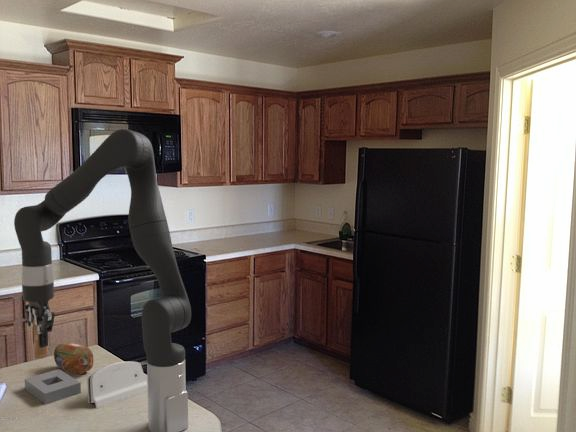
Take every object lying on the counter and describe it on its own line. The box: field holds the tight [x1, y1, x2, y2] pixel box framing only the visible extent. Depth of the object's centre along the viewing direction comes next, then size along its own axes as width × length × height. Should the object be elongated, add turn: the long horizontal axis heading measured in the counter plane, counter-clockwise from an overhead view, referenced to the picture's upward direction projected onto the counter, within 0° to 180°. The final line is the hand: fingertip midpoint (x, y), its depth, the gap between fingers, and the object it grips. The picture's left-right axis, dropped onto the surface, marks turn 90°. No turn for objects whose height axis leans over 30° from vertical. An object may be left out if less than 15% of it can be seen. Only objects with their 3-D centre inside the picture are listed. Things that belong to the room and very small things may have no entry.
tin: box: [53, 342, 94, 375], centre depth 167 cm, size 15×3×8 cm, turn 64°
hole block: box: [24, 368, 82, 405], centre depth 152 cm, size 14×10×3 cm
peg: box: [33, 319, 48, 359], centre depth 140 cm, size 3×3×10 cm
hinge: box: [86, 360, 148, 409], centre depth 150 cm, size 17×5×10 cm, turn 135°
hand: (40, 344), depth 141 cm, fingers closed on peg, 3 cm apart
